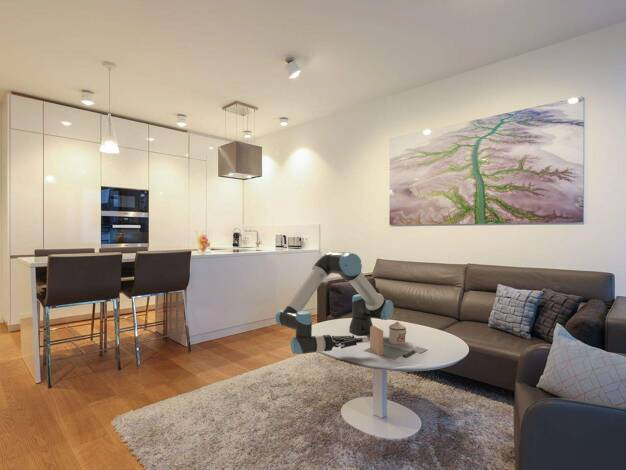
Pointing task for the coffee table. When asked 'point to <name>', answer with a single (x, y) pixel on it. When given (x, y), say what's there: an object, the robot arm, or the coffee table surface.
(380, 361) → the coffee table surface
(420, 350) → the turner
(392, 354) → the mat
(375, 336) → the tile
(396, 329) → the teacup with lid
